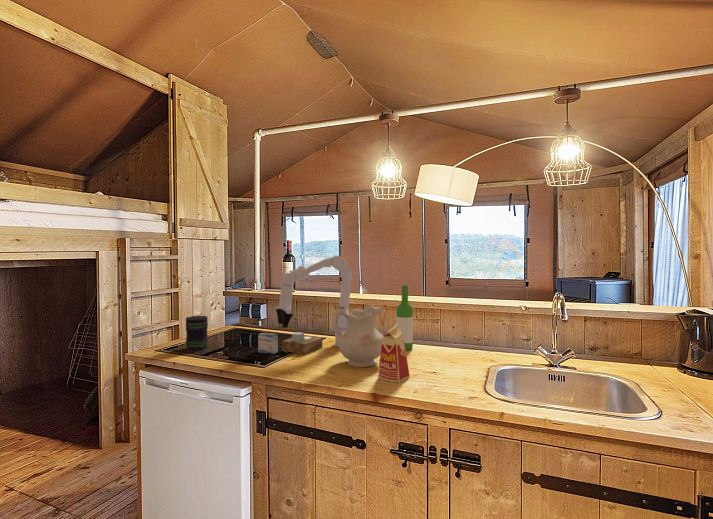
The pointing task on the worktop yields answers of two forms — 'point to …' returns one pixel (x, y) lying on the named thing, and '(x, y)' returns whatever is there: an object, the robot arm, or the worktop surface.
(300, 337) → the pale grey block
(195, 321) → the storage jar
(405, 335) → the wine bottle
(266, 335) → the medicine box
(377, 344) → the ceramic pitcher
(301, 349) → the socket block
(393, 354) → the milk carton
